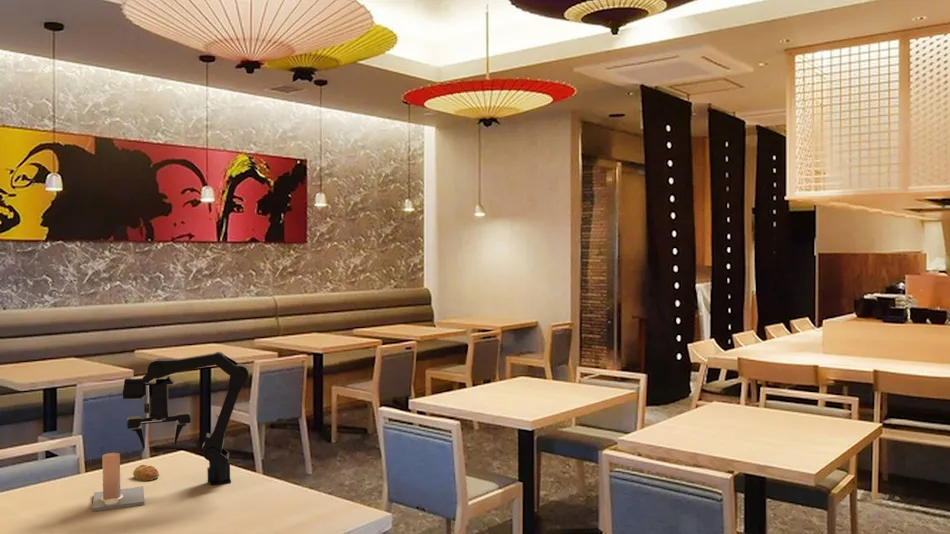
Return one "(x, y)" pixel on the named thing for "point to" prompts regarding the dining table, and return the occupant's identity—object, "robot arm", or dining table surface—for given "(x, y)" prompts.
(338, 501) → the dining table surface
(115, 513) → the dining table surface
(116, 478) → the canister
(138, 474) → the pastry
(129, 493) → the board
